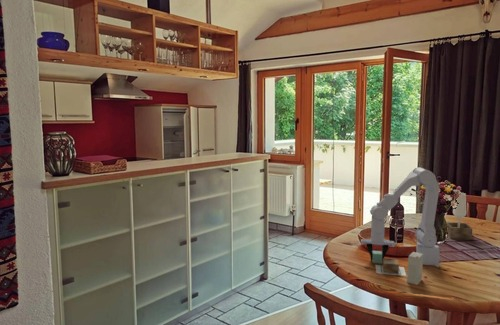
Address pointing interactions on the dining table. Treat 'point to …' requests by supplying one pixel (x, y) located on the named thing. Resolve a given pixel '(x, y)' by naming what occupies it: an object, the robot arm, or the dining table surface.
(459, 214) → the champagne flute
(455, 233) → the olive brown open box
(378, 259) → the teal block
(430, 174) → the robot arm
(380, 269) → the grey flat slab
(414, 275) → the skincare box
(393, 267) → the walnut block
